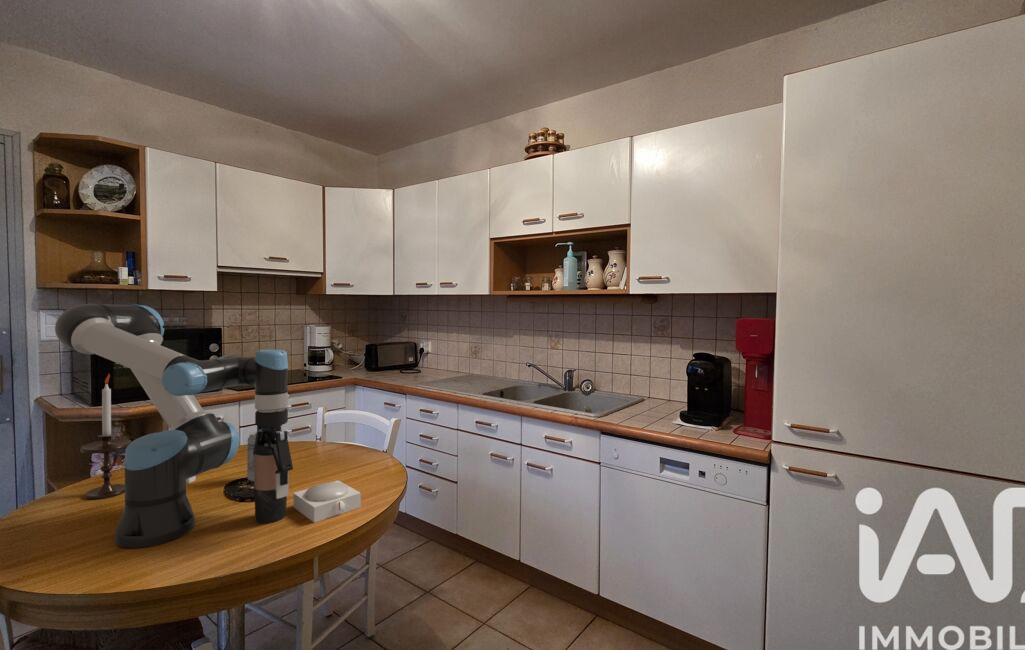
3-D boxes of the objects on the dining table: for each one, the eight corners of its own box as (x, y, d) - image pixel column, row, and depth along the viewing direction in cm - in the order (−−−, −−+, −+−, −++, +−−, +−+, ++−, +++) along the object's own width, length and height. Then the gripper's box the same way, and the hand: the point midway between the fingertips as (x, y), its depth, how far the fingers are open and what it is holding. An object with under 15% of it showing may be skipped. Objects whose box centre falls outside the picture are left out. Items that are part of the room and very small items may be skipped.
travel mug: (293, 515, 119) (294, 440, 118) (264, 527, 112) (265, 448, 112) (276, 508, 123) (276, 436, 122) (247, 519, 116) (248, 443, 115)
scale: (315, 523, 114) (315, 505, 114) (293, 507, 124) (293, 490, 123) (361, 507, 124) (362, 490, 124) (338, 493, 133) (338, 477, 133)
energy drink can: (273, 477, 145) (273, 431, 144) (258, 484, 139) (258, 436, 138) (257, 475, 146) (258, 429, 146) (242, 481, 140) (242, 434, 140)
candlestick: (141, 486, 135) (140, 371, 134) (108, 501, 124) (107, 376, 123) (105, 485, 135) (105, 370, 134) (69, 500, 124) (68, 375, 123)
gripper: (307, 414, 111) (307, 498, 112) (268, 400, 128) (269, 473, 128) (275, 419, 105) (275, 508, 106) (239, 404, 122) (239, 480, 123)
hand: (271, 489), depth 117 cm, fingers open, 13 cm apart
